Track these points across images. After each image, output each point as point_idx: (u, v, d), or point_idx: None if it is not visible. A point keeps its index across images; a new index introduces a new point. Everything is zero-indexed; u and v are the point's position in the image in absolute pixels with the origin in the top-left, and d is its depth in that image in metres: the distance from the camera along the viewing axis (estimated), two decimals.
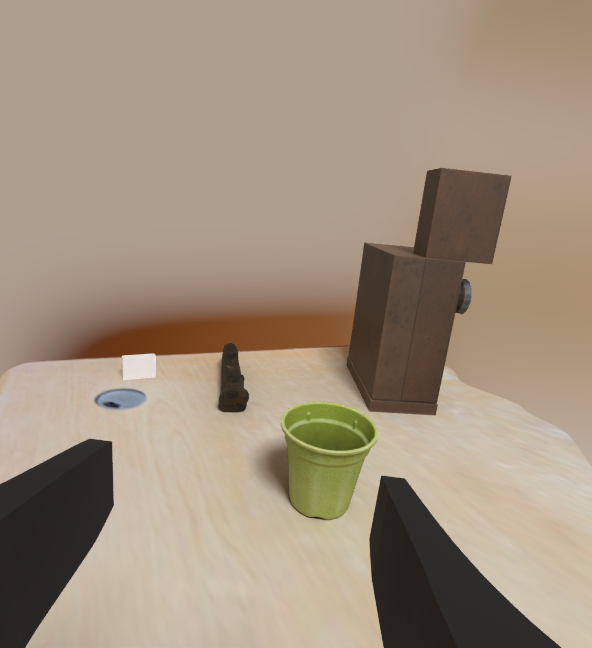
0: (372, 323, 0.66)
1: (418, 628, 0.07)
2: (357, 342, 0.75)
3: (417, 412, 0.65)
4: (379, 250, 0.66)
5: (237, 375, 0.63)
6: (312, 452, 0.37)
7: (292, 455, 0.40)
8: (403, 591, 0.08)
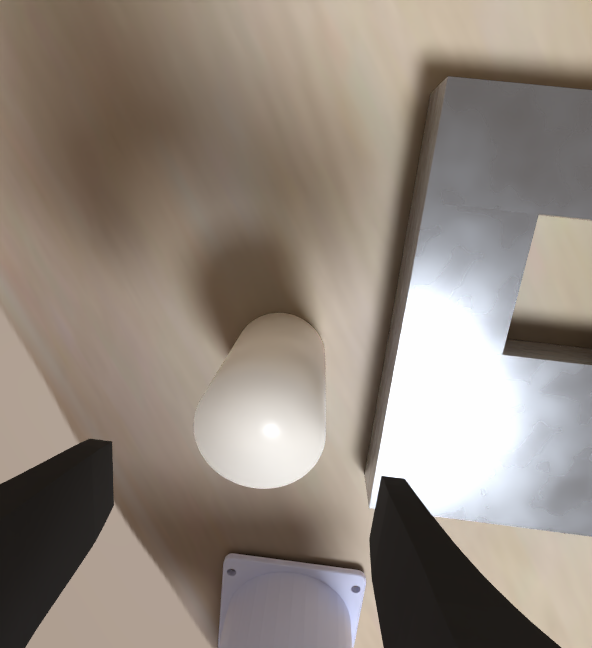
0: None
1: (418, 628, 0.07)
2: None
3: None
4: None
5: None
6: None
7: None
8: (403, 591, 0.08)
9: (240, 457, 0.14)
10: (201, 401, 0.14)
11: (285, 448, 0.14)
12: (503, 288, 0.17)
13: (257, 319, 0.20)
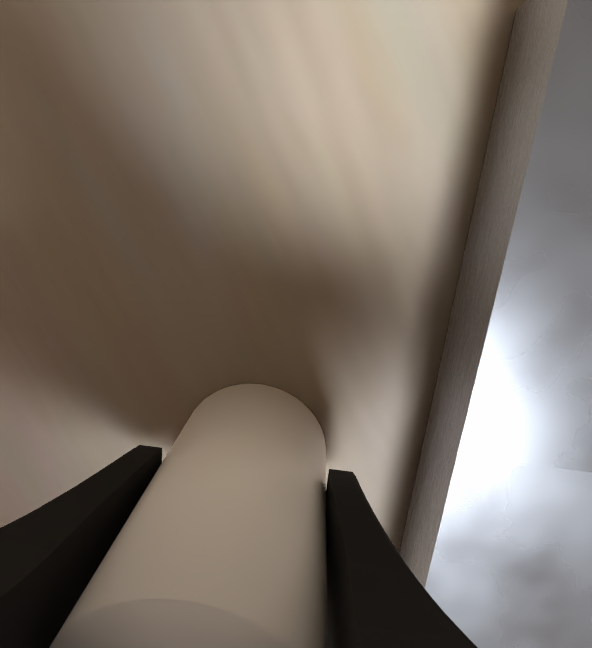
0: None
1: (341, 617, 0.07)
2: None
3: None
4: None
5: None
6: None
7: None
8: (335, 582, 0.08)
9: None
10: None
11: None
12: None
13: (216, 395, 0.12)
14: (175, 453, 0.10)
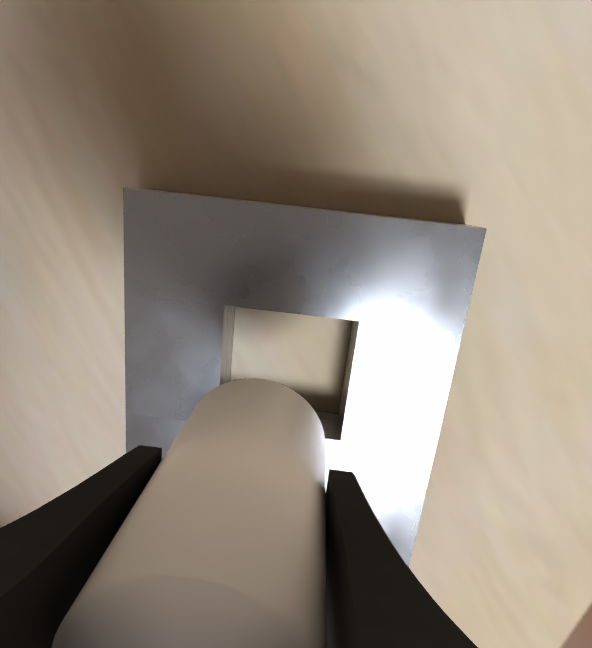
0: None
1: (341, 617, 0.07)
2: None
3: None
4: None
5: None
6: None
7: None
8: (335, 582, 0.08)
9: None
10: (64, 624, 0.06)
11: None
12: (206, 367, 0.19)
13: (221, 388, 0.13)
14: (183, 442, 0.10)
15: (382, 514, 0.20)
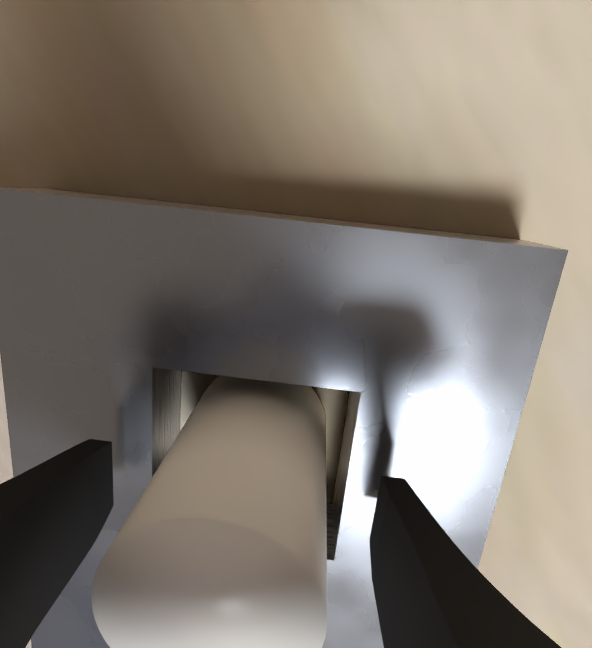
0: None
1: (418, 628, 0.07)
2: None
3: None
4: None
5: None
6: None
7: None
8: (403, 591, 0.08)
9: None
10: (104, 561, 0.08)
11: (253, 643, 0.08)
12: (131, 457, 0.12)
13: None
14: (198, 417, 0.11)
15: None
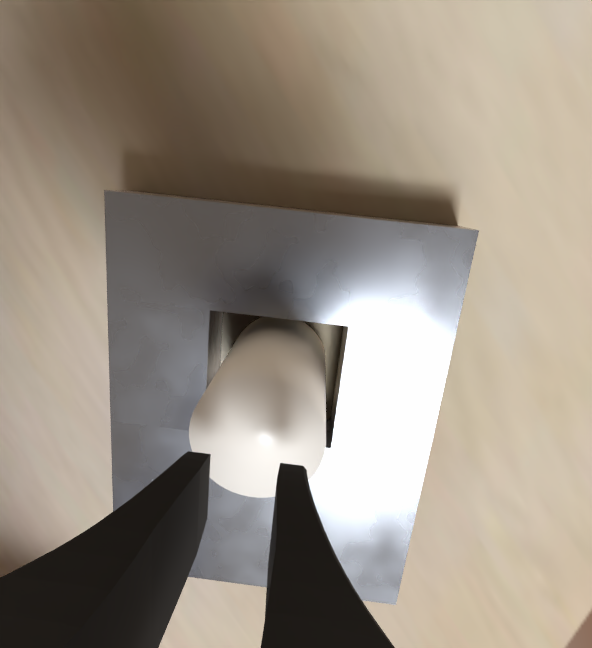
0: None
1: None
2: None
3: None
4: None
5: None
6: None
7: None
8: (271, 573, 0.08)
9: (236, 464, 0.14)
10: (198, 405, 0.13)
11: (282, 457, 0.14)
12: (192, 374, 0.18)
13: (258, 320, 0.19)
14: (240, 343, 0.17)
15: (374, 523, 0.20)
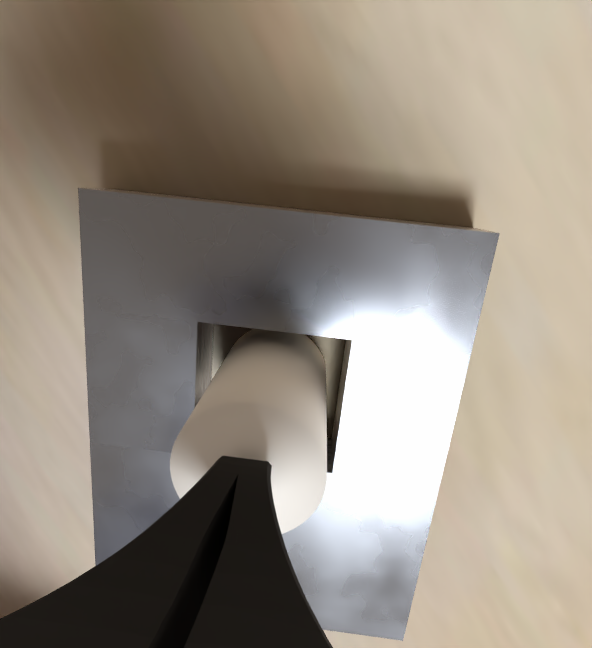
0: None
1: None
2: None
3: None
4: None
5: None
6: None
7: None
8: None
9: None
10: (180, 434, 0.12)
11: (277, 493, 0.12)
12: (179, 392, 0.16)
13: (252, 331, 0.18)
14: (231, 358, 0.15)
15: (380, 554, 0.18)
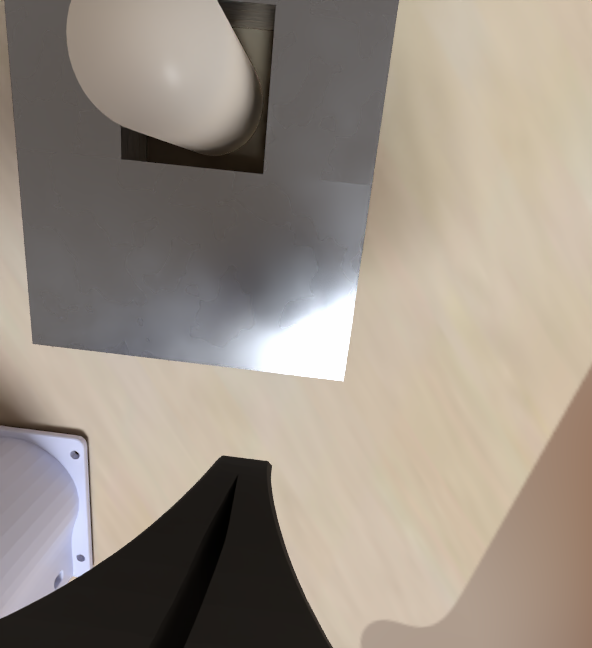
0: None
1: None
2: None
3: None
4: None
5: None
6: None
7: None
8: None
9: (124, 84, 0.12)
10: None
11: (178, 69, 0.12)
12: None
13: None
14: None
15: (316, 273, 0.17)
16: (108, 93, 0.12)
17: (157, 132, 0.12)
